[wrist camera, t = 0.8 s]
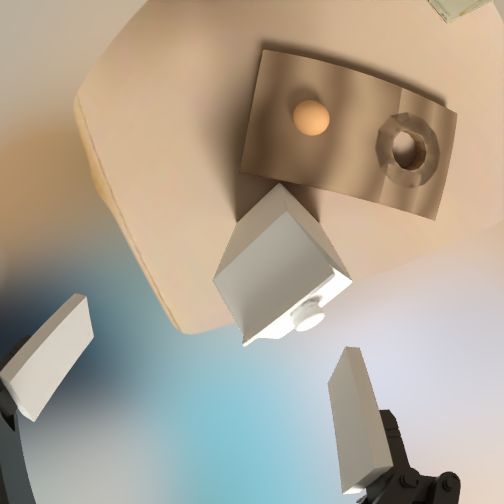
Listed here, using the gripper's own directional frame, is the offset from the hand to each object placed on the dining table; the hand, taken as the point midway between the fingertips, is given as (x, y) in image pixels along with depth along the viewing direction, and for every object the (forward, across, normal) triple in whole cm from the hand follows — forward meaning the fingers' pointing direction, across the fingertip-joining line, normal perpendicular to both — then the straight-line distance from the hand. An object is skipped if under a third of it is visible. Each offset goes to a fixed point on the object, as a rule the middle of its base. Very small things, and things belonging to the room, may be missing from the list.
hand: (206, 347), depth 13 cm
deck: (+23, +11, +12) cm, 28 cm away
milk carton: (+23, +4, 0) cm, 23 cm away
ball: (+18, +5, +12) cm, 23 cm away
